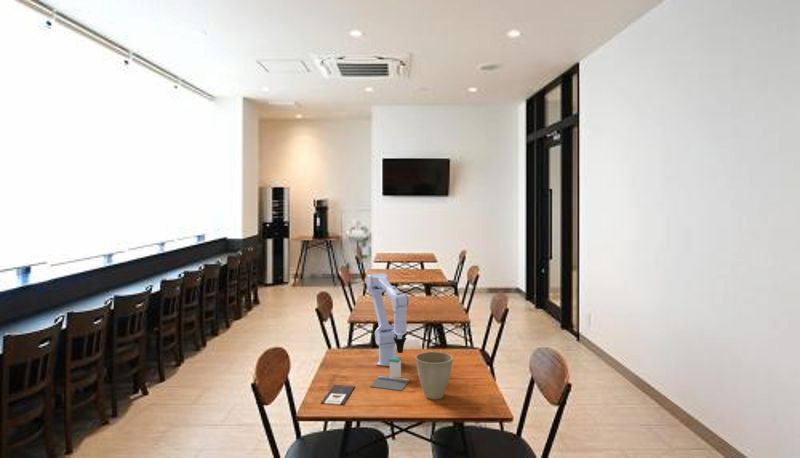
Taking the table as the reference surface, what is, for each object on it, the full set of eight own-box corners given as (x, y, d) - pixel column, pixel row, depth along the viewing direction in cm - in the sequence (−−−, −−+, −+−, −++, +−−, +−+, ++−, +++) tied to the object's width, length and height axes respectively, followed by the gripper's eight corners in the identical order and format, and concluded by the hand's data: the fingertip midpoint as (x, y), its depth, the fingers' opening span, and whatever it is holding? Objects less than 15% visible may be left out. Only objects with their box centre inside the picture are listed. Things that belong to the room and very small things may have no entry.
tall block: (392, 375, 219) (392, 356, 219) (401, 376, 218) (401, 357, 218) (389, 379, 215) (389, 359, 215) (398, 380, 214) (398, 360, 214)
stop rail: (378, 378, 216) (378, 375, 216) (408, 381, 212) (408, 378, 212) (377, 379, 215) (377, 376, 215) (407, 382, 211) (407, 380, 211)
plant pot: (460, 398, 195) (460, 358, 194) (429, 406, 187) (429, 365, 186) (437, 386, 207) (437, 349, 206) (408, 393, 199) (408, 355, 198)
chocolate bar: (354, 386, 206) (343, 403, 188) (354, 388, 206) (343, 406, 188) (334, 384, 207) (321, 402, 189) (334, 387, 207) (321, 404, 190)
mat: (377, 379, 215) (377, 378, 215) (407, 383, 211) (407, 382, 211) (369, 386, 206) (369, 386, 206) (401, 390, 202) (401, 390, 202)
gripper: (392, 317, 229) (392, 346, 230) (390, 324, 215) (390, 355, 215) (407, 317, 229) (407, 346, 229) (406, 324, 214) (406, 355, 215)
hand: (400, 350), depth 222 cm, fingers open, 6 cm apart
